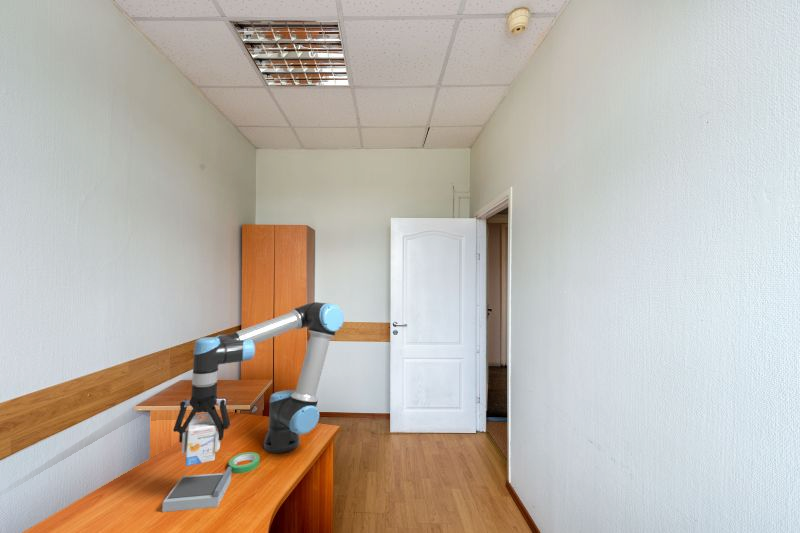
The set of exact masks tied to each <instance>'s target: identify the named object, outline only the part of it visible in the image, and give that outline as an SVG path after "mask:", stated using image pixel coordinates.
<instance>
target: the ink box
mask: <svg viewBox="0 0 800 533" xmlns="http://www.w3.org/2000/svg"><path fill="white" fill-rule="evenodd" d="M202 417H204V418H202ZM199 418H201V419H199ZM187 430H188V433H187V447H186V452H185V467H188V466H189V467H190V466H194V465H199V464H203V463H208V462H212V461H213V462H214V461H215V459H216V458H215V457H216V452H215V438H216V431H217V430H218V429H217V427H216V425H215V423H214V421H213V419H212V417H211V416H210V415H209V413H208V412H203V413H197V414H195V415H194V417H193V419H192V420H191V422H190V423H189V425H188V427H187Z"/></svg>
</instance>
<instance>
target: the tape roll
mask: <svg viewBox="0 0 800 533" xmlns="http://www.w3.org/2000/svg"><path fill="white" fill-rule="evenodd" d="M243 461H250V462H249V463H245V464H240V465H239V463H240V462H241V463H242V462H243ZM259 465H260V455H259V454H258V453H257V452H252V451H251V452H250V451H248V452H242V453H241V452H240V453H239V454H236V455H234V456H232V457H231V458H230V459H229V461H228V467H232V469H231V474H238V475H239V474H240V475H241V474H246V473H249V472H252V471H253V470H255V469H256V468H258V467H259ZM228 467H227V468H228Z"/></svg>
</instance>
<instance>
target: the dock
mask: <svg viewBox="0 0 800 533" xmlns="http://www.w3.org/2000/svg"><path fill="white" fill-rule="evenodd" d="M231 469H232V467H226V470H225V471H224V472H220V473H207V474H205V473H204V474H196V475H195V474H194V475H184V476H181V477H180V479H179V481H177V483H176V484H175V486H173V488H172V490H171V491H169V493H168V495H167V496H166V497H165V498H164V499H163V501H162V507H161V508H162V510H161V513H165V512H167V513H168V512H177V511H187V510H198V509H206V508H207V509H208V508H217V507H219V505H220V503H221V501H222V499H223V497H224V496H225V493H226V491H227V489H228V487H229V485H230V483H231V482H232V472H231Z"/></svg>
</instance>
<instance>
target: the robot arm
mask: <svg viewBox="0 0 800 533" xmlns="http://www.w3.org/2000/svg"><path fill="white" fill-rule="evenodd" d="M289 311H290V312H288V313H285V314H282V315H279V316H276V317H274V318H271V319H268V320H266V321H262V322H260V323H257V324H254V325H251V326H248V327H246V328H243V329H241V330H237V331H235V332H232V333H228V334H219V335H217V336H211V337H201V338H198V339H196V340H195V342H194V348H193V366H192V377H191V378H192V380H191V384H192V385H191V396H190V399H188V400H187V399H183V400H182V401H181V402H179V403H180V404H179V412H178V415H177V418H176V420H175V424H174V426H173V430H172V431H173V432H177V433H179V439H178V442H179V443H181V454H186V447H187V433H188V425H189V423H190V422H191V420H192V419H193V417H194V415H197V414H201V413H209V415H210V416H211V417H212V419H213V421H214V423H215V425H216V427H217V431H216V438H215V453H216V452H218V451H219V450H220V448H221V441H222V440H223V439H224V436H225V435H224V433H225V432H224V431H225V430H227V429H229V427H230V425H231V423H230V422H231V421H230V419H229V417H230V416H229V414H228V413H229V412H228V408H227V398H225V397H224V398H218V396H217V394H218V375H219V374H218V373H219V365H223V364H224V365H225V364H231V363H232V364H233V363H237V362H238V363H239V362H242V363H243V362H245V361H251V360H252V359H253V358H254V357H255V354H256V346H255V345H256V344H258V343H261V342H264V341H266V340H269V339H271V338H275V337H276V336H279V335H282V334H284V333H287V332H289V331H292V330H295V329H296V330H300V329H304V328H308V334H310V337H309V341H308V346H307V349H306V352H305V355H304V359H303V363H302V366H301V370H300V374H299V377H298V381H297V385H296V389H287V390H286V389H285V390H280V391H276V392H274V393H272V394H271V395H270V398H269V409H268V410H269V414H268V415H269V417H268V430H267V433H266V434H265V438H264V440H263V449H264V450H265V452H268V453H270V454H271V453H272V454H281V453H287V452H291V451H292V450H294V449H296V448H297V447H298V446H299V445H300V443H301V442H300V441H301V437H300V435H305V434H308V433H310V432H311V431H312V430H314V428H315V427H316V426H317V424H318V422H319V420H320V411H319V409H318V408H317V405H318V401H319V399H318V397H317V392H318V387H319V383H320V380H321V375H322V373H323V372H322V371H323V367H324V364H325V361H326V356H327V352H328V349H329V345H330V342H331V339H333V338H334V337H335V336H336V332H337V331H339V330H340V329H341V328H342V326H343V324H344V322H345V320H344V317H345V316H344V313H343V311H342V309H341V308H340V307H339V306H338V305H336V304H333V303H329V302H328V303H327V302H325V303H324V302H316V301H314V302H309V303H306V304H304V305H301V306H298V307H295V308H292V309H291V310H289ZM216 404H217V405H218V406H219V411H220V414H221V416H220V415H219V413H218V411H217V408H216V406H215V405H216ZM189 405H190V406H191V408H192V410H191V411H190V413H189V415H188V416H187V418H186V420H185V421H184V418H185V414H186V412H187V409H188V407H189ZM183 422H184V423H183ZM182 423H183V425H182Z"/></svg>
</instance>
